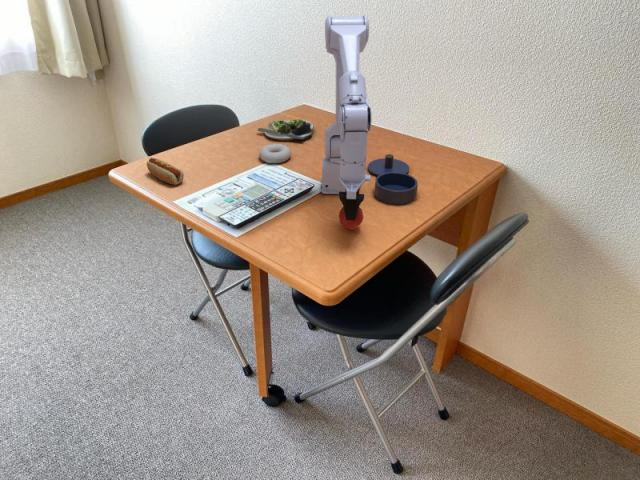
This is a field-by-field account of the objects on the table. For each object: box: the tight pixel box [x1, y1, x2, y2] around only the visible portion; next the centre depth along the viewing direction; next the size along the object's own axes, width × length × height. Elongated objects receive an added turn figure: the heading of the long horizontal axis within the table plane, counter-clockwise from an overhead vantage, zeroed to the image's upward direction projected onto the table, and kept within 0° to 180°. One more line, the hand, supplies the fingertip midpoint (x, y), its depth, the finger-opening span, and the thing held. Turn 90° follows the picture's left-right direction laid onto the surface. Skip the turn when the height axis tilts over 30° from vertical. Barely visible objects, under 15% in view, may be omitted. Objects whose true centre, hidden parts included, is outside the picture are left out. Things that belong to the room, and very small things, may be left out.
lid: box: [367, 153, 410, 177], centre depth 142 cm, size 12×12×5 cm
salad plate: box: [256, 119, 315, 142], centre depth 166 cm, size 19×18×5 cm
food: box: [146, 157, 185, 186], centre depth 137 cm, size 14×6×5 cm, turn 49°
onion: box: [338, 206, 364, 231], centre depth 114 cm, size 6×6×8 cm
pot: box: [374, 172, 419, 206], centre depth 129 cm, size 11×11×4 cm
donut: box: [258, 143, 292, 164], centre depth 149 cm, size 10×4×10 cm
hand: (351, 211), depth 113 cm, fingers open, 7 cm apart
